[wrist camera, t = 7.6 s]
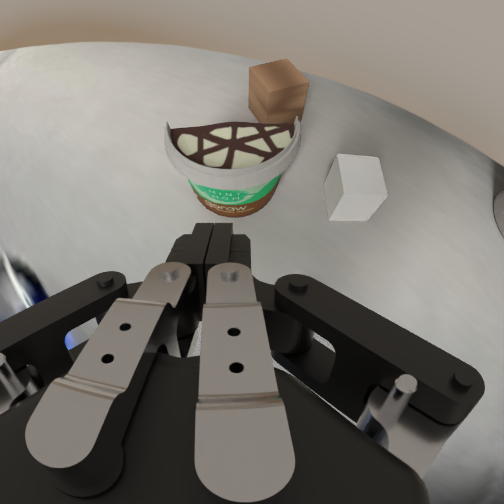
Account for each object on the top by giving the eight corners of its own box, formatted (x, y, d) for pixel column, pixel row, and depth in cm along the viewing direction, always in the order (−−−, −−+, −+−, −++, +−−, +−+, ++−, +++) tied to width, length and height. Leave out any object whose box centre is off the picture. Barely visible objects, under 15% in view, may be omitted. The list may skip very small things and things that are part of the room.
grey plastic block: (360, 186, 34) (378, 157, 28) (366, 221, 33) (387, 196, 27) (323, 184, 34) (337, 153, 28) (328, 220, 32) (343, 193, 27)
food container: (177, 230, 32) (151, 181, 22) (180, 180, 34) (160, 122, 24) (295, 225, 32) (314, 174, 23) (289, 175, 34) (303, 115, 25)
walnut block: (282, 97, 38) (287, 58, 31) (300, 121, 37) (309, 82, 30) (248, 107, 37) (249, 67, 31) (266, 132, 36) (269, 92, 29)
